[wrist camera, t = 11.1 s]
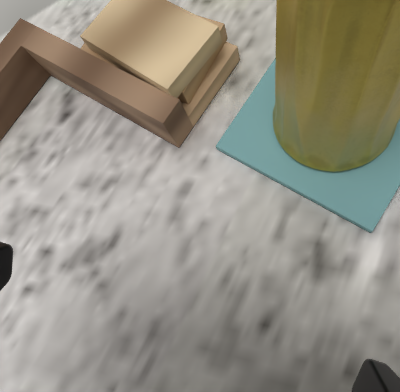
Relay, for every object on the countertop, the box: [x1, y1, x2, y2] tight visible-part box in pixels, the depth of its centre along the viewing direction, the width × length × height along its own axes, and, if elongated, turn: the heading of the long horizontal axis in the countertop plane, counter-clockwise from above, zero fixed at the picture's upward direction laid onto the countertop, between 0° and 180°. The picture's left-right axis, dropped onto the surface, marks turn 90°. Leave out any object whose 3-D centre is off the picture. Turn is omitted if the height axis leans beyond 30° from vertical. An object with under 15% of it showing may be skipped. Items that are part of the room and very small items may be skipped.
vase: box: [273, 0, 400, 172], centre depth 13 cm, size 6×6×14 cm
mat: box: [216, 58, 400, 233], centre depth 20 cm, size 9×9×1 cm
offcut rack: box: [0, 0, 240, 148], centre depth 22 cm, size 12×16×4 cm
